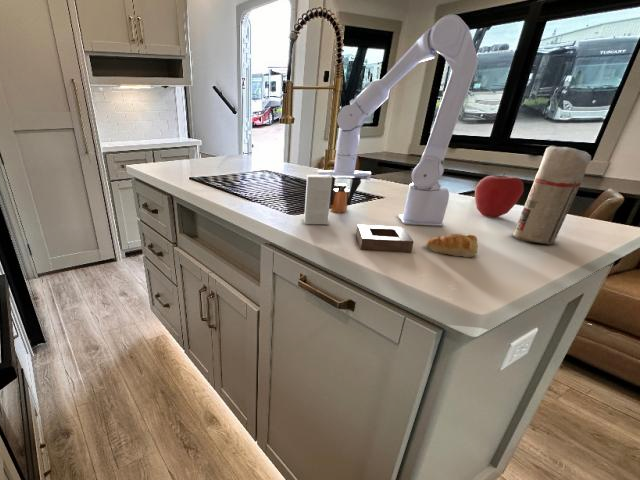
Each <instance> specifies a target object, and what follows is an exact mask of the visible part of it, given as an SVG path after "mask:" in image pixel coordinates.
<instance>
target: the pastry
mask: <svg viewBox="0 0 640 480" xmlns="http://www.w3.org/2000/svg"><path fill="white" fill-rule="evenodd" d="M425 247H426V248H428V249H429V250H430V251H432V252H434V253H437V254H444V255H449V256H454V257H460V256H461V257H464V258H470V257H475V255H477V254H478V251H479V248H478V247H479V244H478V238H477V236H476V235H475V234H473V235H472V234H468V235H467V234H463V233H451V234H445V235H438V236H434V237H431V238H429V239H428V240H427V241H426V243H425Z"/></svg>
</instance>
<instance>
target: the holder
mask: <svg viewBox="0 0 640 480" xmlns="http://www.w3.org/2000/svg"><path fill="white" fill-rule="evenodd" d="M355 235H356V239H357V242H358V245H359V248H360V250H365V251H379V252H397V253H398V252H399V253H412V251H413V247H414V243H415V242H414V239H413V238H412V237H411V235H410V234H409V232H408V231H407V230H406V228H405V227H404V226H393V225H390V226H389V225H373V224H372V225H371V224H370V225H368V224H357V227H356V232H355Z"/></svg>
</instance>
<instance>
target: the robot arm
mask: <svg viewBox="0 0 640 480" xmlns="http://www.w3.org/2000/svg"><path fill="white" fill-rule="evenodd" d="M476 50H477V49H476V47H475V44H474V40H473V36H472V33H471V30H470V27H469V25H467V24H466V22H465V21H464V20H463V19H462V18H461V17H460V16H459V15H458V14H447V15H444V16H442V17H441V18H439V19H438V20H437V21H436V23H435V24H434V25H433V26H432V28H431V27H430V28H429V29H427V30H425V32H424V33H423V34H422V35H421V36H420V37H419V38H418V39H417V40H416V41H415V42H414V43H413V45H411V47H410V48H409V49H408V50H407V51H406V52H405V53H404V54H403V55H402V56H401V57H400V58H399V60H398V61H397V62H396V63H395V64H393V66H392V67H391V68H390V69H389V70H388V71H387V73H386V74H385V75H383V77H382V78H381V79H380V78H379V79H373V80H372V81H371V82H370V81H367V82H366V83H365V84H364V89H363V90H362V91H361V92H360V93H359V94H358V95H357V96H356V97H355V98H352V99H351V100H349V105H348V104H347V105H345V106H343V107H341V109H340V111H338V114H337V117H336V123H337V125H338V133H337V134H338V135H337V141H336V149H335V158H334V165H333V166H334V167H333V169H325V170H323V169H322V170H320V169H319V170H317V175H331V177H332V185H331V195H330V205H332V204H333V193H334V189H335V184H336V183H335V181H336V179H340V180H341V179H345V180H350V181H349V189H348V190H349V197H348V204H347V206H351V202H352V200H353V197H354V195H355V194H356V192H357V190H358V188H359V187H360V185H361V183H362V180H366V181H370V180H371V177H372V172H371V171H363V170H356V165H357V158H358V150H359V144H360V135H361V127H363V125H364V124H365V121H366V118H369V117H370V116H371V115H372V114H373V113H374V112H375V111H376V110H377V109H378V108H379V107H381V106H382V105H383V103H385V102H386V101H387V100H388V99H389V96H390V91H391V90H392V88H393V87H394V86H395V85H397V84H398V83H399V82H400V81H401V80H402V79H403V78H404V77H405V76H406V75H408V74H409V73H410V72H411V71H412V70H413V69H414V68H415V67H417V65H418V64H420V63H421V62H425V61H429V60H432V59H435V58H436V54H435V53H436V52H437V53H438V54H439V55H440V56H441V57H443V58H444V60H445V62H446V63H447V64H448V66H449V68H450V69H451V72H450V75H449V78H448V81H447V84H446V87H445V89H444V93H443V96H442V99H441V102H440V105H439V108H438V110H437V114H436V117H435V120H434V123H433V126H432V129H431V132H430V135H429V137H428V141H427V144H426V147H425V149H424V151H423V152H422V155H421V158H420V161H419V163H418V164H417V165H416V166H415V167H414V168H413V170H412V171H411V175H410V176H411V182H412V183H410V184H409V187H408V191H407V195H406V200H405V205H404V209H403V210H404V211H403V214H398V218H399V219H400V220H401V222H402V223H403V224H404V225H413V226H414V225H416V226H434V227H435V226H437V227H443V225H444V223H443V222H444V218H445V214H446V210H447V208H448V203H449V199H450V192H449V190H448V188H443V187H442V188H441V186H442V185H440V182H439V180H440V179H441V178H442V176H443V174H444V172H445V166H444V162H445V158H446V156H447V155H446V154H447V151H448V147H449V145H450V141H451V139H452V137H453V134H454V131H455V129H456V125H457V123H458V121H459V118H460V115H461V111H462V109H463V106H464V103H465V102H466V98H467V95H468V93H469V89H470V87H471V84H472V82H473V79H474V76H475V73H476V70H477V68H478V64H479V58H478V54H477V51H476Z"/></svg>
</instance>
